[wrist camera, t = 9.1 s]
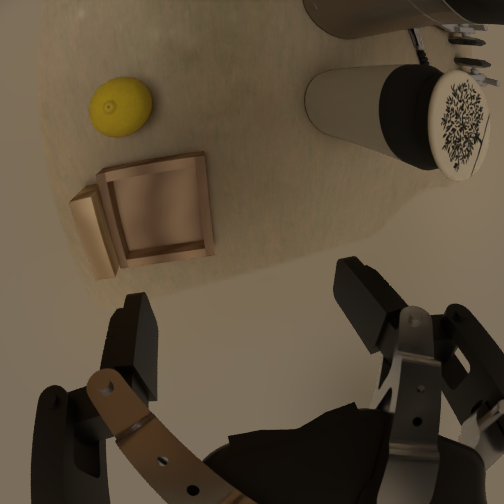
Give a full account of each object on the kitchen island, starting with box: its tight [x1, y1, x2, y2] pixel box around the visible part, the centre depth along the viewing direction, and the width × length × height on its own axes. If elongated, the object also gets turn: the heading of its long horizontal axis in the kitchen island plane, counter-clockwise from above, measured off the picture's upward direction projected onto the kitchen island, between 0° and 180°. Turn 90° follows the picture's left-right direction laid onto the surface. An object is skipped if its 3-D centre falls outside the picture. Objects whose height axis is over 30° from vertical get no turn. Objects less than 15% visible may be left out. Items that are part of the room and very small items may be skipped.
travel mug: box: [305, 64, 491, 181], centre depth 19 cm, size 8×8×18 cm
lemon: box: [89, 77, 152, 137], centre depth 19 cm, size 6×6×8 cm
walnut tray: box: [96, 151, 215, 268], centre depth 28 cm, size 11×11×3 cm
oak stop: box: [69, 184, 119, 280], centre depth 26 cm, size 2×9×5 cm, turn 2°
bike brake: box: [409, 24, 500, 87], centre depth 21 cm, size 14×7×20 cm
